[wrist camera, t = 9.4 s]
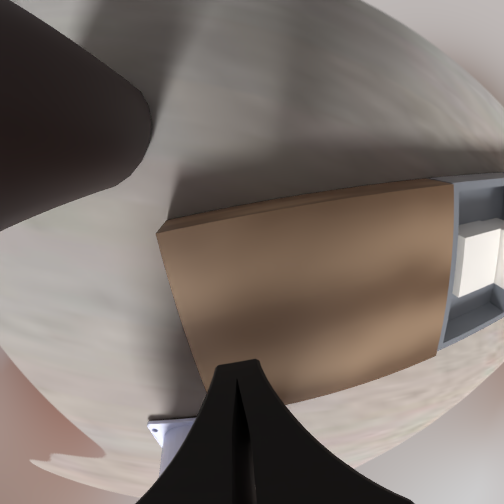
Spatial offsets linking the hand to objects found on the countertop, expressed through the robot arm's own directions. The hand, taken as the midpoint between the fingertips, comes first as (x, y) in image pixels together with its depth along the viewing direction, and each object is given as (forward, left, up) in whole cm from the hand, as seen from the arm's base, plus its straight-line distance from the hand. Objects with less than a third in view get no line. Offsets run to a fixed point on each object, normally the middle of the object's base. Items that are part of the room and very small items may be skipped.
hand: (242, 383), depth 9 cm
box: (-2, -19, -9) cm, 22 cm away
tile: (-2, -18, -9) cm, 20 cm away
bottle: (+10, +6, -10) cm, 15 cm away
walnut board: (-2, -6, -9) cm, 11 cm away
